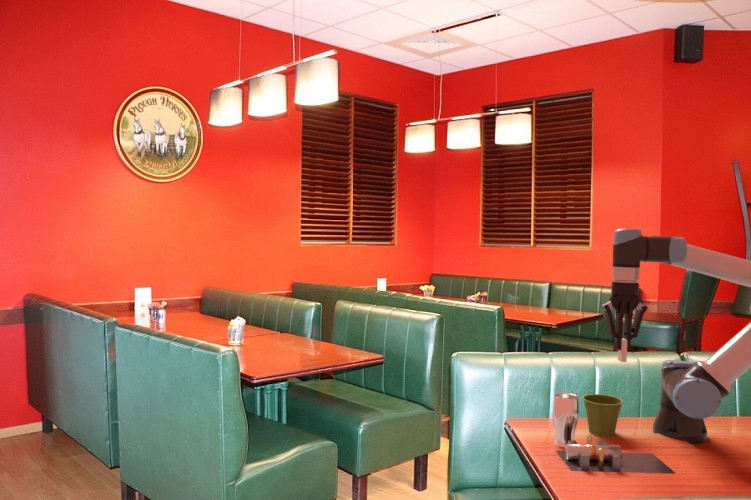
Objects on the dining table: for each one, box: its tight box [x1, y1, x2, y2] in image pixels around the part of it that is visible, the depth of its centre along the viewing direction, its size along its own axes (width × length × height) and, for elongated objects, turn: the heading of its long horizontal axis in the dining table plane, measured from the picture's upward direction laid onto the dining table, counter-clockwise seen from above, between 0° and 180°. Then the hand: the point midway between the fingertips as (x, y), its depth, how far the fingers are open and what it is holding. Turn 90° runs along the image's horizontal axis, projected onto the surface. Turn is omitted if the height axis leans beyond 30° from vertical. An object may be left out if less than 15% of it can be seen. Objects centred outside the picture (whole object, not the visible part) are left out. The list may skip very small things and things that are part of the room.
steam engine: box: [555, 435, 677, 475], centre depth 165 cm, size 27×14×6 cm, turn 90°
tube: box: [564, 443, 623, 461], centre depth 166 cm, size 14×4×4 cm, turn 90°
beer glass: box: [552, 392, 580, 448], centre depth 177 cm, size 7×7×15 cm
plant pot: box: [581, 393, 624, 437], centre depth 189 cm, size 12×12×11 cm
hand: (622, 360), depth 182 cm, fingers closed
